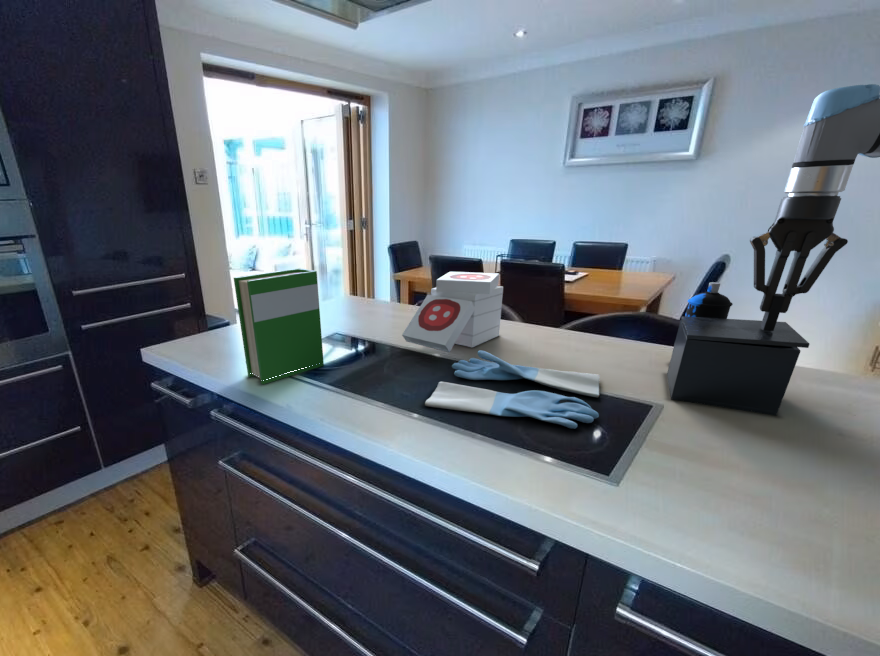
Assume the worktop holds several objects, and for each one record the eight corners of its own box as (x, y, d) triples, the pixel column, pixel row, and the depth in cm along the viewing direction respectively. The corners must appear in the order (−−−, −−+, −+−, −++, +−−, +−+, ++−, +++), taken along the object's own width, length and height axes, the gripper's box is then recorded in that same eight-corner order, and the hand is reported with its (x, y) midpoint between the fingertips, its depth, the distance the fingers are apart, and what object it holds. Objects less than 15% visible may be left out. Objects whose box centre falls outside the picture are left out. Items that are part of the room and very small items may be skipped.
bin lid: (784, 325, 89) (785, 321, 88) (808, 348, 76) (809, 343, 76) (680, 319, 97) (681, 316, 97) (686, 338, 84) (687, 334, 84)
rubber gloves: (601, 436, 77) (608, 402, 74) (423, 406, 90) (423, 377, 87) (598, 380, 100) (603, 353, 97) (456, 363, 113) (458, 339, 110)
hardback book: (262, 384, 103) (248, 281, 94) (248, 376, 108) (233, 277, 99) (323, 365, 114) (316, 271, 104) (307, 358, 119) (299, 268, 109)
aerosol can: (695, 360, 109) (717, 279, 101) (721, 372, 102) (748, 285, 94) (663, 362, 109) (683, 280, 101) (687, 374, 101) (711, 287, 93)
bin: (758, 386, 94) (778, 328, 89) (776, 415, 82) (801, 350, 77) (666, 373, 102) (680, 320, 97) (670, 399, 90) (686, 339, 85)
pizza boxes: (396, 346, 126) (396, 283, 119) (456, 325, 146) (459, 269, 139) (452, 361, 114) (455, 291, 107) (509, 335, 133) (515, 274, 126)
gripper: (855, 193, 75) (806, 327, 84) (758, 195, 81) (721, 320, 90) (874, 193, 69) (818, 338, 78) (767, 196, 75) (727, 329, 84)
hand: (766, 328), depth 84 cm, fingers closed
